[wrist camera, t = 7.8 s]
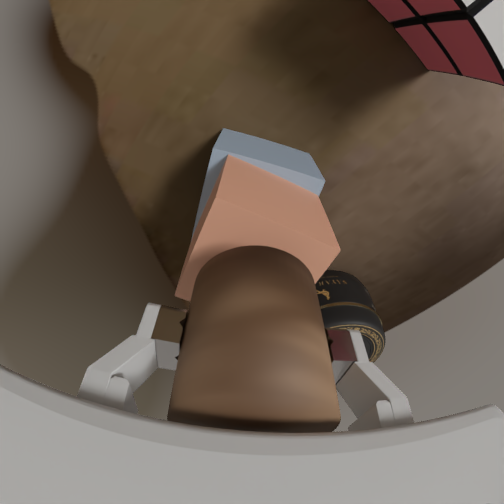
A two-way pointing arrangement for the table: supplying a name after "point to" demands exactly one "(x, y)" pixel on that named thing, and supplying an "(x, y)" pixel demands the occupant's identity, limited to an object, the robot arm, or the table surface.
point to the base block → (260, 163)
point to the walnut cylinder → (255, 348)
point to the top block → (259, 221)
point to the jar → (350, 309)
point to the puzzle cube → (452, 34)
